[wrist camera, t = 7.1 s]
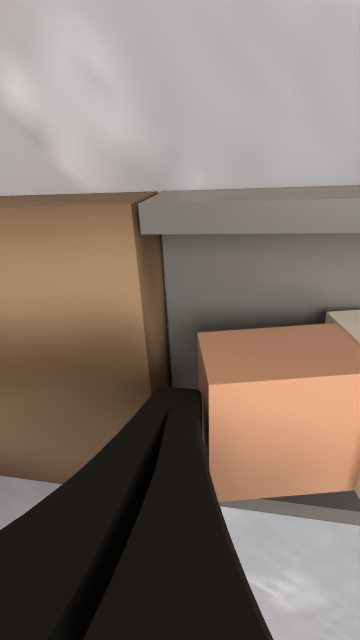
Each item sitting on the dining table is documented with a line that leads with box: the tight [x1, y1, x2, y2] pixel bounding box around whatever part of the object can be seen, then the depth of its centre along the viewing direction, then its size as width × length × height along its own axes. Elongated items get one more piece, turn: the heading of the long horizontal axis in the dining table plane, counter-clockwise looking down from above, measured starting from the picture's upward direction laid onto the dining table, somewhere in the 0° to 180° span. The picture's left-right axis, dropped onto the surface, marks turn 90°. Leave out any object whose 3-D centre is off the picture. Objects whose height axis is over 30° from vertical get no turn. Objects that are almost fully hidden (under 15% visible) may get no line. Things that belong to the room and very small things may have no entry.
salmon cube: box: [197, 323, 360, 502], centre depth 10 cm, size 4×4×3 cm
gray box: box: [138, 185, 360, 526], centre depth 12 cm, size 12×12×3 cm
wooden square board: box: [0, 192, 172, 484], centre depth 14 cm, size 12×12×3 cm
